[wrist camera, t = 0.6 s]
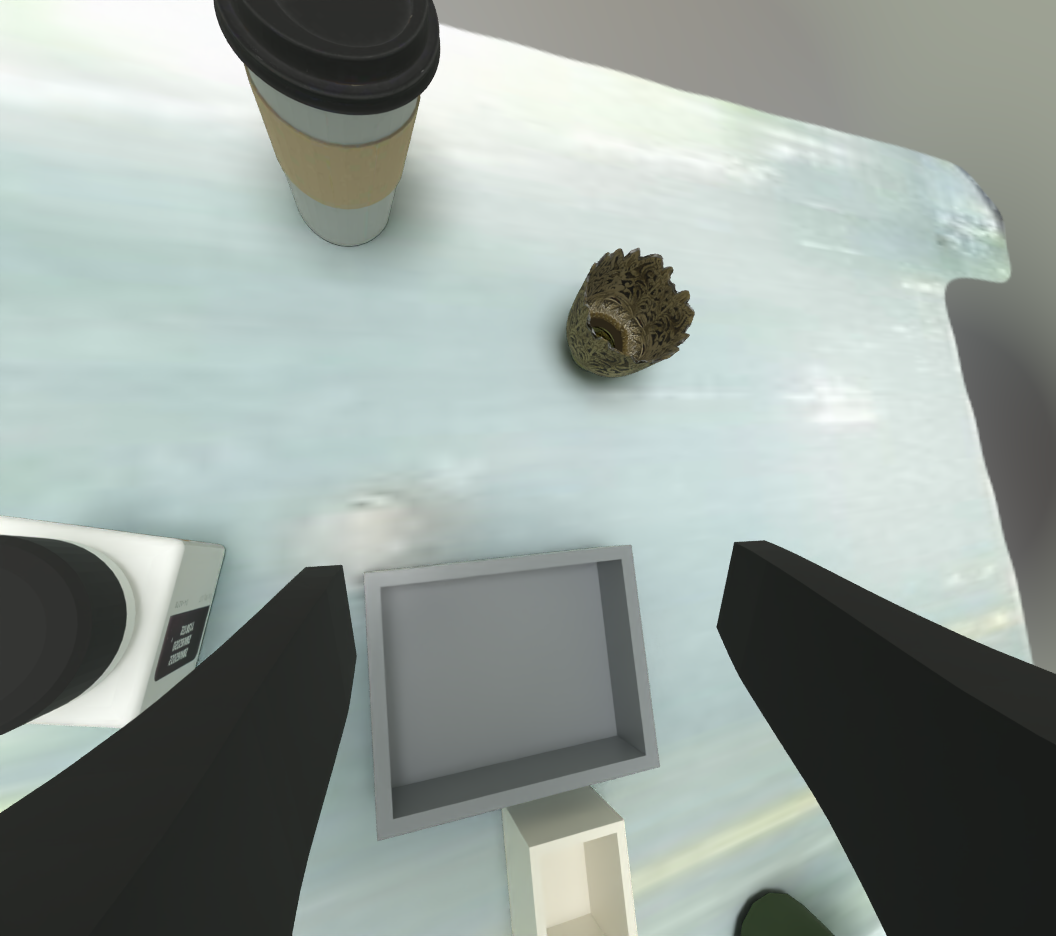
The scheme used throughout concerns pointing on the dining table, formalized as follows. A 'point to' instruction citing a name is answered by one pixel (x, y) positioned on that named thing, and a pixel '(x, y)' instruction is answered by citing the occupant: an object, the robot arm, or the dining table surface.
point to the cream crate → (568, 867)
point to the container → (97, 620)
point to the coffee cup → (337, 98)
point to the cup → (627, 315)
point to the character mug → (781, 918)
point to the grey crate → (504, 683)
